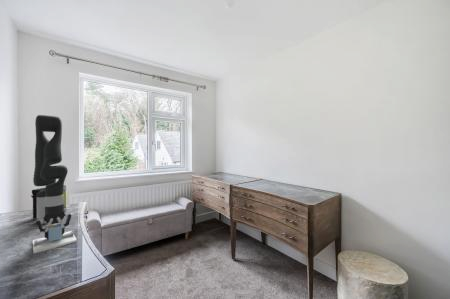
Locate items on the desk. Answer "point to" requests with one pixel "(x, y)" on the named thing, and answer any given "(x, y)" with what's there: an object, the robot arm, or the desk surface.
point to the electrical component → (36, 199)
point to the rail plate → (53, 242)
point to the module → (55, 232)
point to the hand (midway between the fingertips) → (54, 236)
